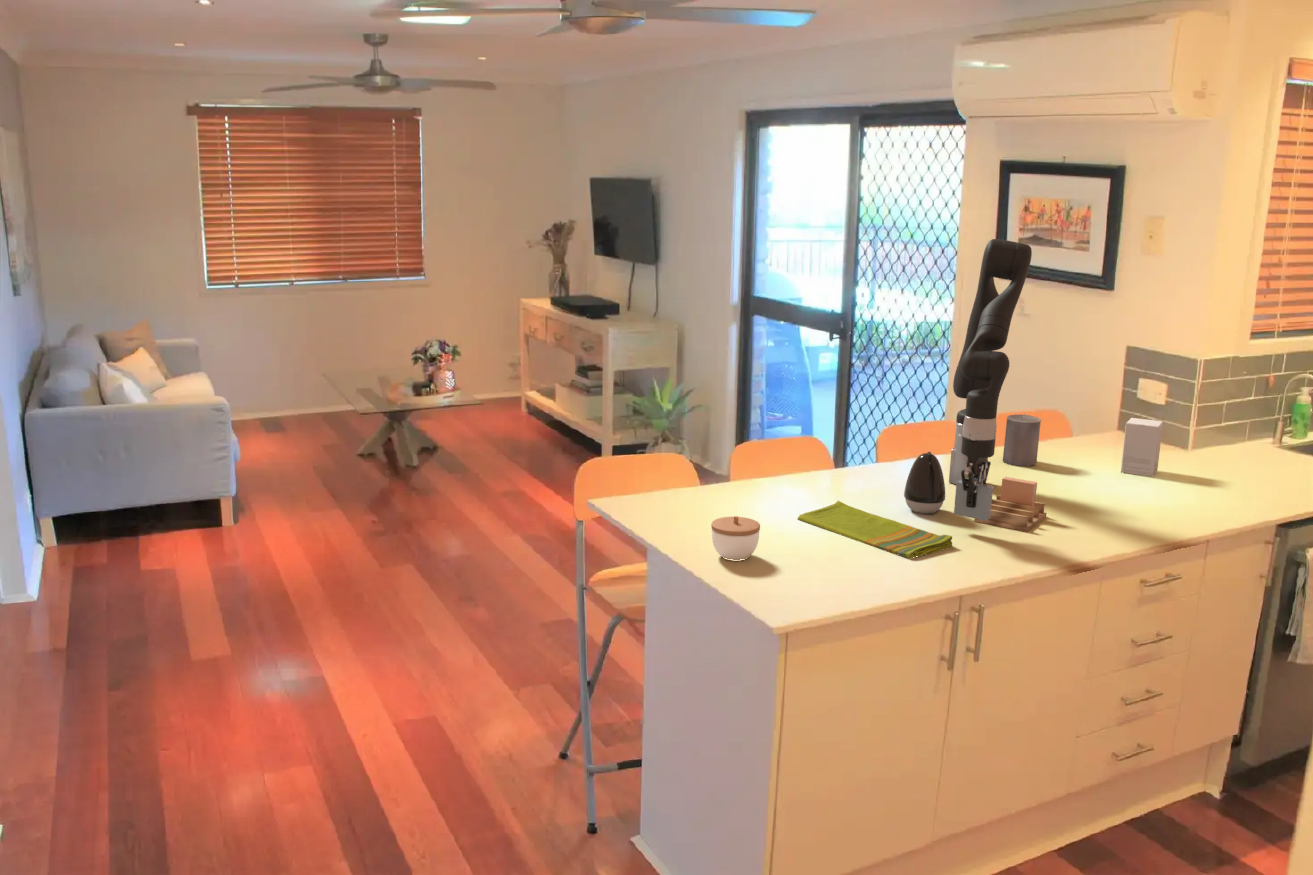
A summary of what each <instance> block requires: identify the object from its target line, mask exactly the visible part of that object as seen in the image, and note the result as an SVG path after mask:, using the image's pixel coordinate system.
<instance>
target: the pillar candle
mask: <svg viewBox="0 0 1313 875" xmlns="http://www.w3.org/2000/svg"><path fill="white" fill-rule="evenodd" d="M1041 422H1042V419H1041V418H1040V417H1037V416H1034V415H1030V414H1025V413H1023V414H1011V415H1007V417H1006V425H1005V426H1006V427H1005V436H1004V442H1003V443H1004V444H1003V457H1002V462H1003V463H1005V464H1006V463H1007V465H1009V464H1010V466H1014V465H1015V467H1022V466H1025V467H1026V466H1028V467H1032V466H1036V465H1035V464H1037V463H1038V462H1037V461H1038V451H1039V440H1040V433H1041V432H1040V430H1041Z"/></svg>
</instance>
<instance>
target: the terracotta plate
mask: <svg viewBox="0 0 1313 875" xmlns="http://www.w3.org/2000/svg"><path fill="white" fill-rule="evenodd" d="M1037 489H1038V482H1037V481H1032V480H1026V479H1020V478H1014V477H1011V476H1010V477H1009V476H1005V477H1003V478H1002V479H1001V488H1000V495H1001V497H1000V500H1001V501H1006V502H1011V503H1017V504H1022V505H1028V506H1033V507H1035V502H1036V499H1037Z"/></svg>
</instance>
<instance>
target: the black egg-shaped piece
mask: <svg viewBox="0 0 1313 875" xmlns="http://www.w3.org/2000/svg"><path fill="white" fill-rule="evenodd" d="M903 496H904V499H905V502H906V505H907V507H908V509H910V510H911V511H912V512H915V513H918V514H923V515H927V514H928V515H930V514H934V513H936V512H938V511H939V510H940V509H941V508H942V506H943V504H944V501H946V484H945V478H944V473H943V469H942V466H941V463H940V461H939V459H938V458H937V456H935V455H934V454H933V453H932V452H931V451H927V452H923V453H921V454H919V455H918V456H917V458H916V459H915V460H914V462H913V464H912V465H911V468H910V470H909V473H908V476H907V478H906V483H905V487H904V491H903Z"/></svg>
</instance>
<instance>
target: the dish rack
mask: <svg viewBox="0 0 1313 875" xmlns="http://www.w3.org/2000/svg"><path fill="white" fill-rule="evenodd" d="M1000 497H1001V494H997V495H996V499H995V498H992V505H991V516H990V519H988V520H987V521H986V520H980V519H975V518H974V521H975V523H979V522H980V524H985V525H990V526H995V527H1000V528H1005V529H1010V530H1015V529H1017V530H1016V531H1020V530H1022V531H1021V532H1025V533H1028V532H1029V531H1031V529H1032V528H1033V529H1034V527H1035V526H1037V525H1038V524H1039V523H1040V522H1041V521H1042V520H1044V519H1045V518H1046V517H1047V512H1045V508H1046V507H1045V506H1046V503H1045V502H1039V501H1035V507H1033V506H1028V505H1022V504H1017V503H1011V502H1006V501H1001V500H1000ZM1027 531H1028V532H1027Z"/></svg>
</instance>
